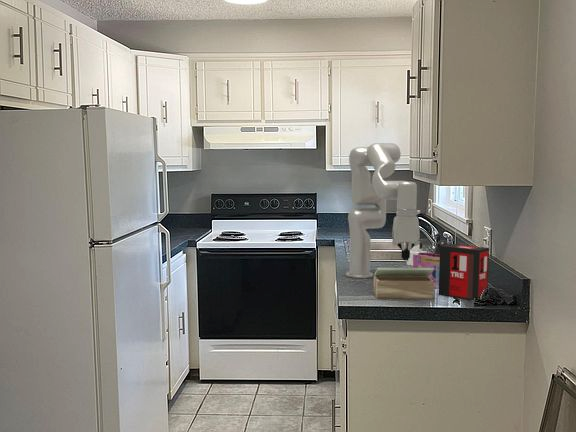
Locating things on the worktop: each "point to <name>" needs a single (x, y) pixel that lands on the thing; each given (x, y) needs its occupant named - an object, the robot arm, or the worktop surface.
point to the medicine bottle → (415, 251)
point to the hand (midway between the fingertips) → (405, 260)
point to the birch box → (403, 287)
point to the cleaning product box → (463, 271)
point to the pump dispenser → (437, 248)
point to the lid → (403, 271)
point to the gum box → (428, 265)
